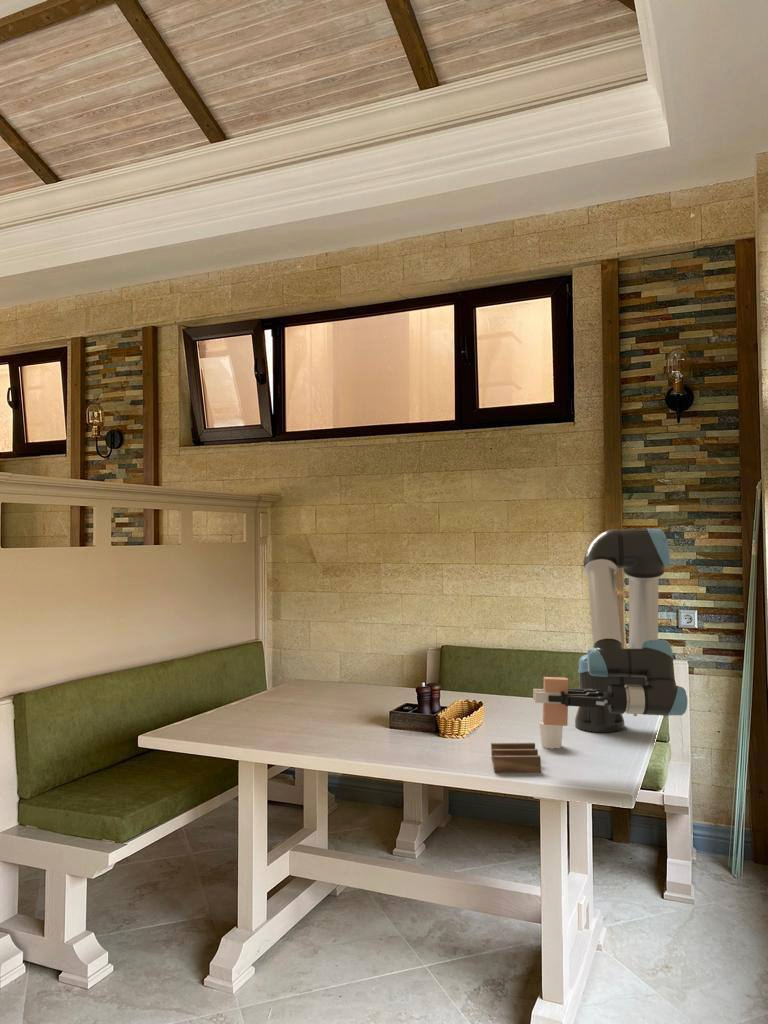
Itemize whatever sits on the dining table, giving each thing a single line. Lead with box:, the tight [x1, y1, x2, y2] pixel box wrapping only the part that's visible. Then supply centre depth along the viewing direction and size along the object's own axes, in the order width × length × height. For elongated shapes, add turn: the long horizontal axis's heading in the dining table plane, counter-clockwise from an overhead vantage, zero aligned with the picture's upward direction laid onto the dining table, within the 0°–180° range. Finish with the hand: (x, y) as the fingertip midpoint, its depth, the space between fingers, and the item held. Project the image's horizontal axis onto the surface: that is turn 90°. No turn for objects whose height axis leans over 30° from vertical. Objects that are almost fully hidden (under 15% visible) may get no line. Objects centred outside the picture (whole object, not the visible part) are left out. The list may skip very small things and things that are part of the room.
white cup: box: [538, 719, 564, 750], centre depth 228 cm, size 7×7×7 cm
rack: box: [490, 742, 542, 773], centre depth 211 cm, size 14×12×4 cm
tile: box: [542, 676, 569, 727], centre depth 207 cm, size 3×6×12 cm, turn 87°
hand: (534, 695), depth 207 cm, fingers closed on tile, 3 cm apart
